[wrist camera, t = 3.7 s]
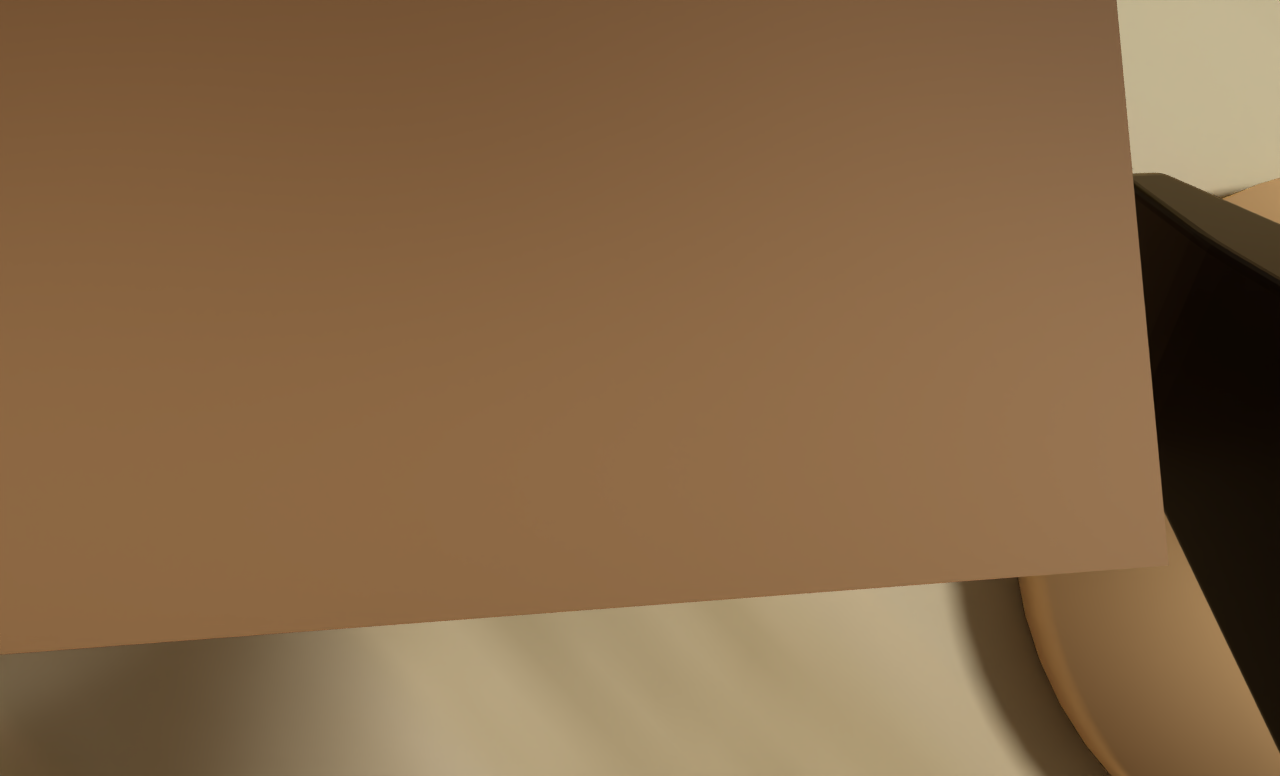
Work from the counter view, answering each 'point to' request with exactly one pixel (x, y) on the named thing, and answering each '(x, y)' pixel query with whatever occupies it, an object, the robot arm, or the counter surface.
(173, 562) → the walnut block
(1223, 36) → the counter surface
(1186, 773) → the cork trivet
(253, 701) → the counter surface
